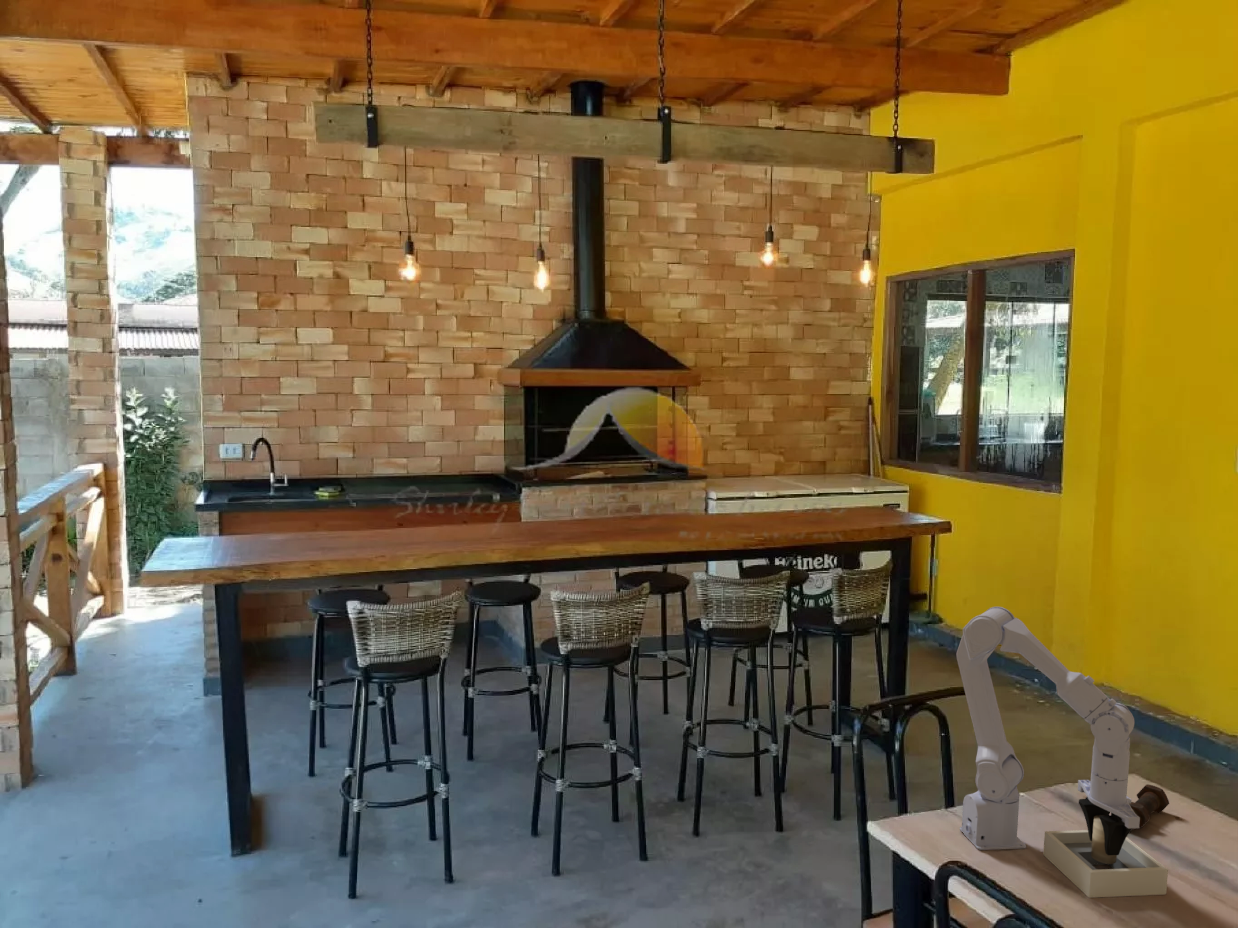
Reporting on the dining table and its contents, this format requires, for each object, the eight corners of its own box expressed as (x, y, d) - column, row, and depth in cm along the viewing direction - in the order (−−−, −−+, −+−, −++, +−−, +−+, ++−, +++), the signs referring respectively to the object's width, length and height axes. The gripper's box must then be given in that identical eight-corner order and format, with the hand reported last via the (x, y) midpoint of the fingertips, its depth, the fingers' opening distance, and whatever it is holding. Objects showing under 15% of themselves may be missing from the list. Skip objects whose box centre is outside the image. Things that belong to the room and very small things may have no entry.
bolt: (1121, 839, 180) (1149, 813, 190) (1146, 836, 176) (1173, 809, 186) (1107, 810, 181) (1135, 785, 191) (1132, 806, 178) (1159, 781, 188)
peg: (1099, 864, 161) (1102, 826, 160) (1086, 852, 165) (1089, 815, 164) (1121, 863, 161) (1124, 825, 161) (1106, 851, 165) (1109, 814, 165)
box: (1088, 897, 156) (1090, 872, 155) (1043, 854, 170) (1044, 831, 169) (1166, 894, 157) (1168, 869, 157) (1114, 852, 171) (1116, 828, 171)
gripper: (1158, 792, 155) (1152, 868, 156) (1105, 756, 169) (1100, 826, 170) (1119, 793, 154) (1113, 870, 155) (1069, 757, 168) (1064, 827, 170)
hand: (1104, 847), depth 163 cm, fingers closed on peg, 4 cm apart
